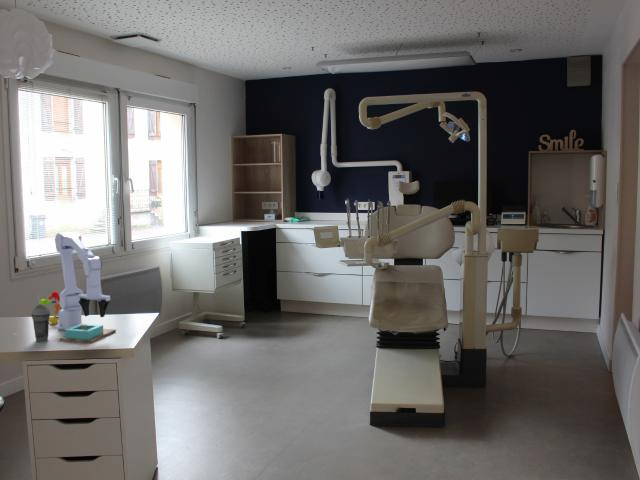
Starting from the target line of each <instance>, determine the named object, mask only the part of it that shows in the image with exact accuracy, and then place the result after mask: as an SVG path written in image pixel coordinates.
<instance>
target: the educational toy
mask: <svg viewBox="0 0 640 480" xmlns="http://www.w3.org/2000/svg"><path fill="white" fill-rule="evenodd" d="M52 299H55V300H52ZM39 301H40V305H45V306H46V305H47V304H54V308H55V312H54V315H53V316H50V317H49V323H50V324H51V325H57V324H58V322H59V318H58V314H59V311H60V310H61V309H62V308H61V307H60V302H59V301H60V293H59V292H58V291H53V292H52V293H51V296H49V297H47V298H46V299H44V298H42V299H39Z"/></svg>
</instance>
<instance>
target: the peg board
mask: <svg viewBox="0 0 640 480" xmlns="http://www.w3.org/2000/svg"><path fill="white" fill-rule="evenodd" d="M81 327H82V330H87V325H81ZM114 333H117V329H113V328H103V334H100V335H98V336H96V337H93V338H91V339H89V340H86V339H73V338H66V335H63V336H62V337H60V338H59V342H68V343H80V344H93V343H95V342H97V341H99V340H101V339H104V338H107V337H109V336H110V334H111V335H112V334H114ZM108 335H109V336H108Z"/></svg>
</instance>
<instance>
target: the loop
mask: <svg viewBox="0 0 640 480" xmlns="http://www.w3.org/2000/svg"><path fill="white" fill-rule="evenodd" d="M81 325H87V330H82V327H81ZM103 329H104V325H103V324H89V323H87V324H86V323H82V324H79V325H76V326H74V327H71V328H69V329H66V330H64V332H65V335H64V336H66V338H73V339H86V340H89V339H91V338H93V337H96V336H98V335H100V334H103Z"/></svg>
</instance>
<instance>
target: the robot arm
mask: <svg viewBox="0 0 640 480" xmlns="http://www.w3.org/2000/svg"><path fill="white" fill-rule="evenodd" d="M54 241H55V242H54V243H55V249H56V252H57V253H59V255H60V261H61V270H62V275H63V281H64V282H63V283H64V289H63V290H62V291H61V292H60V293H59V296H60V301H59V302H60V307H61V308H62V309H61V310H60V309H59V311H58V314H57V317H58V318H59V320H58V327H57V330H64V331H65V330H66V329H69V328H71V327H74V326H76V325H79V324H83V323H82V322H83V321H82V312H83V315H84V317H89V315H90V302H91V301H98V302H97V304H98V308H99V316H100V318H104V317H105V315H106V310H107V308H108V305H109V303H110V302H111V295H106V294H102V290H101V289H102V286H101V270H102V269H103V267H104V266H103V260H102V258H101V257H100V256H97V255H95V254H94V253H93V251H92V250H90V248H88V247H85V246H84V244H83V242H82V235H81V233H80V232H79V231H72V232H70V231H69V232H58V233H56V235H55V238H54ZM74 251H75V252H77V255H76V256H77V258H78V259H79V260H80V261H81V263H82V267H83V270H84V275H85V277H86V279H85V282H86V293H85V294H84V292H83V290H82V289H81V288H79V287H78V286H77V279H76V273H75V265H74V260H73V252H74Z"/></svg>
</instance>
